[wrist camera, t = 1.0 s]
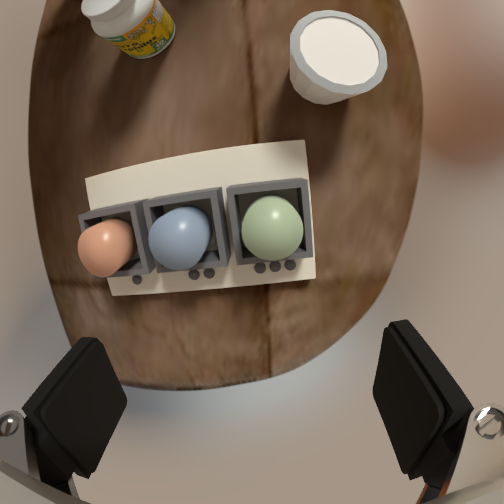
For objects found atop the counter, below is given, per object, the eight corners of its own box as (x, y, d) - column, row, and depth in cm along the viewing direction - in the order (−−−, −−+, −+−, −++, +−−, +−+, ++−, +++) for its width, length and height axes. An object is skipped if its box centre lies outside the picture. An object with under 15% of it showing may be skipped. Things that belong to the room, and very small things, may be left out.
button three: (241, 197, 21) (237, 204, 18) (294, 191, 21) (300, 197, 18) (247, 248, 22) (245, 263, 19) (298, 242, 22) (305, 257, 19)
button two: (160, 208, 22) (143, 217, 18) (208, 201, 21) (199, 209, 18) (169, 256, 23) (155, 272, 19) (216, 251, 23) (209, 267, 19)
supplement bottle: (177, 10, 19) (143, -41, 10) (176, 53, 20) (136, 8, 11) (126, 23, 19) (79, -16, 10) (123, 66, 21) (68, 34, 11)
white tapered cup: (370, 75, 20) (403, 52, 14) (330, 126, 22) (355, 114, 16) (309, 31, 19) (324, -6, 13) (266, 80, 21) (268, 52, 15)
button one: (94, 220, 22) (72, 230, 19) (132, 213, 22) (113, 223, 18) (105, 263, 23) (85, 278, 20) (142, 259, 23) (125, 275, 20)
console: (93, 177, 24) (66, 181, 20) (301, 141, 23) (311, 136, 18) (118, 289, 28) (98, 309, 23) (312, 272, 26) (322, 293, 22)
